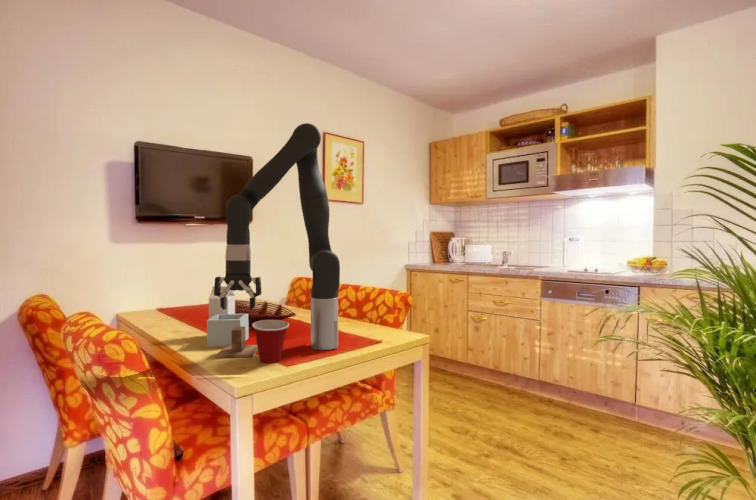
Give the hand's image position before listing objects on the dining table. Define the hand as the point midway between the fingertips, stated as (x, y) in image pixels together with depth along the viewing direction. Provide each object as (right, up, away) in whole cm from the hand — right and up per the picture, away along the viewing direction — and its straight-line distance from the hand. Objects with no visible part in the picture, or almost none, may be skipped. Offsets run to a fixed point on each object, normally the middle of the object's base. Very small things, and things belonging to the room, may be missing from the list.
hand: (237, 309), depth 127 cm
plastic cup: (+13, -15, -7) cm, 21 cm away
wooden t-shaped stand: (0, -14, +1) cm, 14 cm away
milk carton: (-14, -14, +23) cm, 30 cm away
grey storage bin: (-8, -14, +13) cm, 21 cm away
